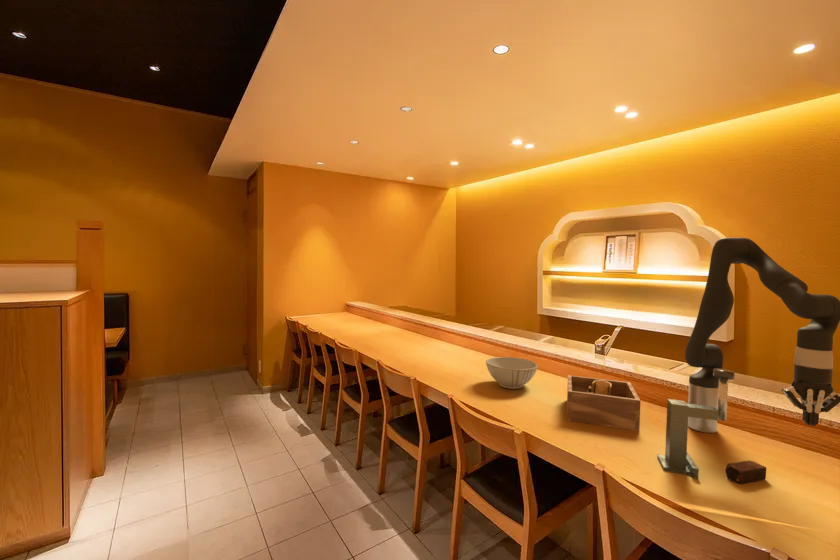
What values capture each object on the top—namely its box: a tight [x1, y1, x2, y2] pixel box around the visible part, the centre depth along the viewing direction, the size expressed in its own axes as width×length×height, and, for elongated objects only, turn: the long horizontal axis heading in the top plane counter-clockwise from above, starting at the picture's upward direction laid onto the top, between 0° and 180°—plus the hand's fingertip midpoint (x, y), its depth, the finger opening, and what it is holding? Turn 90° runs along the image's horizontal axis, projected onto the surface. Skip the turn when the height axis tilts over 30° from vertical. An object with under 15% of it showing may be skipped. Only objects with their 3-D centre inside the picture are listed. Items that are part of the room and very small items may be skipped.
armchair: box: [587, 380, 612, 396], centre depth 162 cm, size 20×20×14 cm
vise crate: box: [566, 374, 641, 432], centre depth 161 cm, size 26×26×12 cm
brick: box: [725, 459, 767, 484], centre depth 112 cm, size 11×4×5 cm
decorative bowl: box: [485, 356, 538, 390], centre depth 199 cm, size 27×27×12 cm
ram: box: [713, 368, 736, 422], centre depth 114 cm, size 5×5×15 cm
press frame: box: [656, 398, 719, 480], centre depth 117 cm, size 12×14×20 cm
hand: (810, 424), depth 107 cm, fingers closed
